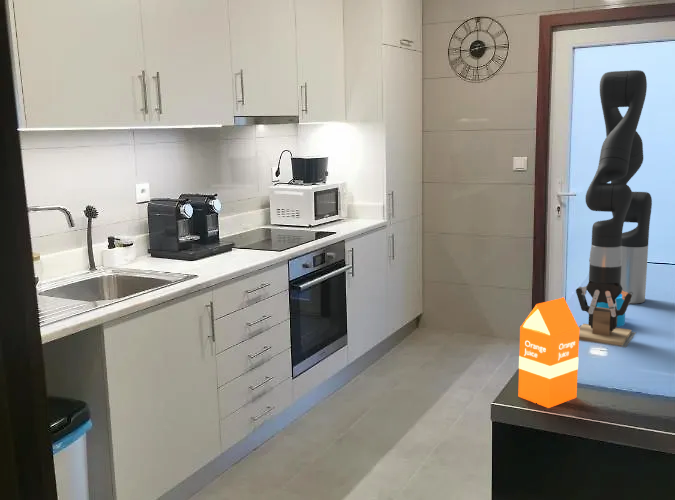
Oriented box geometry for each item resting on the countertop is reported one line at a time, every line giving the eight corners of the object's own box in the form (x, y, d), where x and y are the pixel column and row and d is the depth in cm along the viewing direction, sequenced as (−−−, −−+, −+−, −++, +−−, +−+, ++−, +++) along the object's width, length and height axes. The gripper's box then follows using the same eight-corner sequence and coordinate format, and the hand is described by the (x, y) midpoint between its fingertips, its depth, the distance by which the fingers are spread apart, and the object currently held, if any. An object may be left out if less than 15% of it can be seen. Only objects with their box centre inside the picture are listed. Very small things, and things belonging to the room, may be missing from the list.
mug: (620, 330, 185) (622, 300, 183) (589, 325, 189) (590, 296, 188) (630, 319, 194) (632, 290, 193) (600, 315, 199) (601, 287, 197)
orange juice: (577, 397, 140) (581, 300, 137) (548, 408, 135) (552, 308, 132) (545, 386, 147) (548, 293, 143) (517, 396, 142) (519, 300, 138)
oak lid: (583, 326, 187) (584, 301, 186) (631, 332, 180) (632, 307, 179) (572, 338, 177) (573, 312, 176) (622, 345, 170) (623, 318, 169)
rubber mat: (580, 326, 188) (580, 325, 188) (636, 333, 181) (636, 332, 181) (566, 340, 177) (567, 338, 176) (625, 348, 169) (626, 347, 169)
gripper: (638, 262, 175) (634, 329, 178) (579, 257, 182) (577, 321, 185) (633, 268, 168) (629, 336, 171) (572, 263, 176) (570, 328, 179)
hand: (602, 328), depth 178 cm, fingers closed on oak lid, 4 cm apart
